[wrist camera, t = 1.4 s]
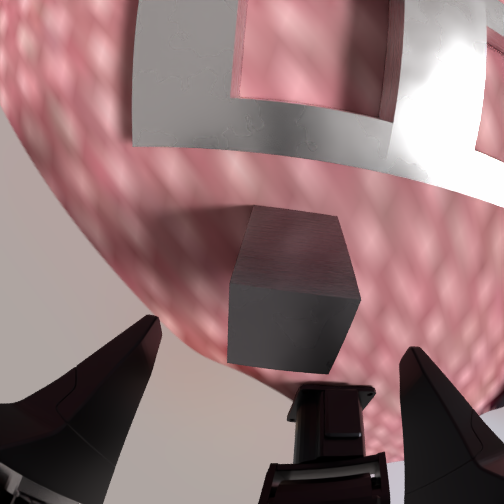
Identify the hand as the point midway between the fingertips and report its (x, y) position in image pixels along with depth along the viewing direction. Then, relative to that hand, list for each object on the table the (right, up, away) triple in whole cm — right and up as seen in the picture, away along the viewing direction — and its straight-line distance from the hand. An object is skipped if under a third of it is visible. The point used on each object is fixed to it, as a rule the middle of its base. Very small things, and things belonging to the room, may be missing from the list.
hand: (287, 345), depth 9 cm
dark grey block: (+1, +3, +5) cm, 6 cm away
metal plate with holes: (+6, +11, 0) cm, 13 cm away
